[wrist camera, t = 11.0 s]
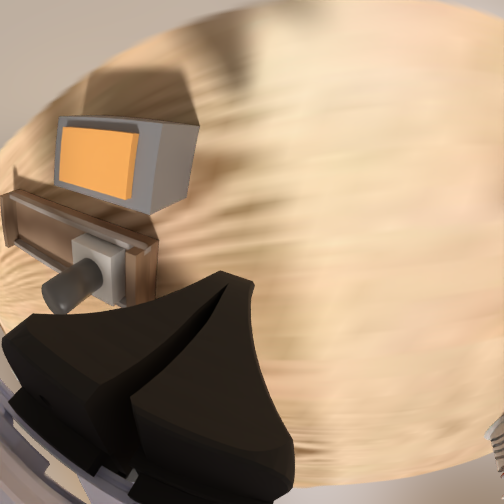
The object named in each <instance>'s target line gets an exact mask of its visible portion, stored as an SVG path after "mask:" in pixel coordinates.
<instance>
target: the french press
mask: <svg viewBox="0 0 504 504" xmlns="http://www.w3.org/2000/svg"><path fill="white" fill-rule="evenodd" d="M484 438H485V439H487V440H491V442H492V443H491V444H492V447H493V452H494V453H495V454H494V456H495V459H496V465H497V470H498V472H502V471H504V415H503V416H502V417H500V418H499V419H498V420H497V421H496V422H495V423H494V424H492V425H491V426H490V428H489V429H488V430H487V431H486V432H485V435H484ZM501 478H504V473H503V474H502V475H501ZM501 499H504V495H503V496H502V498H501Z"/></svg>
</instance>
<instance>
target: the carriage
mask: <svg viewBox="0 0 504 504" xmlns="http://www.w3.org/2000/svg"><path fill="white" fill-rule="evenodd" d="M72 254H73V264H74V265H72V266H70V267H69V268H67V269H66V270H64V271H63V272H61V273H59V274H58V275H56V276H55V277H53V278H52V279H50V280H49V281H47V282H46V283H44V284H43V285H42V295H43V298H44V300H45V302H46V304H47V306H48V307H49V309H50V310H51V311H52V312H53V313H54V314H62V315H66V314H67V313H69V312H70V311H71V310H72V309H74V308H75V307H76V306H77V305H79V304H80V303H81V302H82V301H84V300H85V299H86V298H87V297H89V296H90V295H93V296H94V297H96V298H98V299H100V300H102V301H104V302H106V303H108V304H109V305H111V306H114V305H115V304H116V303H118V302H119V301H120V300H121V299H122V298H123V297H124V296H125V248H122V247H120V246H117V245H115V244H113V243H110V242H108V241H105V240H103V239H100V238H98V237H95V236H93V235H91V234H88V233H84V234H82V235H80V236H78V237H76V238H74V239H72Z"/></svg>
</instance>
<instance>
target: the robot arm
mask: <svg viewBox="0 0 504 504" xmlns="http://www.w3.org/2000/svg"><path fill="white" fill-rule="evenodd" d="M254 286H255V285H254V283H253V281H250V280H247V279H244V278H241V277H238V276H235V275H232V274H229V273H226V272H223V271H218V272H216V273H214V274H212V275H210V276H208V277H206V278H204V279H202V280H200V281H198V282H196V283H194V284H192V285H189V286H187V287H185V288H183V289H181V290H178V291H176V292H173V293H171V294H168V295H166V296H163V297H161V298H158V299H155V300H152V301H148V302H145V303H141V304H138V305H134V306H130V307H125V308H120V309H114V310H109V311H103V312H95V313H85V314H66V315H62V314H34V313H33V314H32V315H30V316H29V317H28V318H26V319H25V320H24V321H23V322H21V323H20V324H19V325H18V326H16V327H15V328H14V329H13V330H11V331H10V332H9V333H8V334H6V335H5V336H4V337H3V338H2V348H3V352H4V354H5V356H6V358H7V360H8V362H9V364H10V366H11V368H12V370H13V372H14V374H15V375H16V377H17V379H18V381H19V382H20V384H21V386H22V388H20V390H18V392H16V394H14V393H13V392H12V391H11V390H10V389H9V388H8V387H7V386H6V385H5V384H4V382H3V381H2V380H1V379H0V504H86V503H84V502H83V501H81V500H80V499H78V498H77V497H75V496H74V495H73V494H71V493H70V492H68V491H67V490H66V489H64V488H63V487H62V486H60V485H59V484H58V483H57V482H55V481H54V480H53V479H51V478H50V477H49V476H48V475H46V474H45V470H46V469H47V468H48V466H49V465H50V464H49V461H47V460H46V459H45V458H44V457H43V456H42V455H41V454H39V452H38V451H37V450H36V449H35V448H33V447H32V446H31V445H30V444H29V442H28V441H27V440H26V439H25V438H24V437H23V436H22V435H21V434H20V433H19V432H18V431H17V430H16V429H15V428H14V427H13V419H14V420H15V421H16V422H17V423H18V424H19V425H20V426H21V427H22V428H23V429H24V430H25V431H26V432H27V433H28V434H29V435H30V436H31V437H32V438H33V439H34V440H35V441H36V442H38V443H39V444H40V445H41V446H42V447H43V448H44V449H46V450H47V451H48V452H49V453H50V454H51V455H53V456H54V457H55V458H56V459H58V460H59V461H60V462H62V463H63V464H64V465H65V466H67V467H68V468H69V469H71V470H72V471H73V472H75V473H76V474H77V476H78V478H79V480H80V482H81V484H82V486H83V488H84V490H85V492H86V494H87V496H88V498H89V500H90V502H91V504H273V502H274V500H276V499H278V498H279V497H281V496H283V495H285V494H286V493H288V492H289V491H290V490H291V489H292V488H293V483H294V476H295V454H294V444H293V439H292V437H291V436H290V434H289V432H288V431H287V429H286V427H285V425H284V423H283V422H282V420H281V418H280V416H279V414H278V412H277V410H276V408H275V406H274V403H273V401H272V399H271V397H270V394H269V392H268V389H267V386H266V384H265V381H264V378H263V376H262V373H261V370H260V366H259V363H258V359H257V355H256V351H255V346H254V341H253V334H252V326H251V297H252V293H253V290H254Z"/></svg>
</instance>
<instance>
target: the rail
mask: <svg viewBox="0 0 504 504" xmlns="http://www.w3.org/2000/svg"><path fill="white" fill-rule="evenodd" d="M0 206H1V216H2V225H3V233H4V239H5V246H7V247H8V248H9V247H11V246H13V245H16V246H17V247H19V248H20V249H22V250H23V251H25V252H26V253H28V254H29V255H31V256H32V257H34V258H35V259H37V260H38V261H40V262H42V263H43V264H45V265H46V266H48V267H50V268H51V269H53V270H54V271H56V272H58V273H61V272H63V271H64V270H66V269H67V268H69V267H70V266H72V265H74V264H73V254H72V239H74V238H76V237H78V236H80V235H82V234H84V233H88V234H91V235H93V236H95V237H98V238H100V239H103V240H105V241H108V242H110V243H113V244H115V245H117V246H120V247H122V248H125V296H124V297H123V298H122V299H121V300H120V301H119V302H118V303H116V305H118V306H120V307H122V308H125V307H130V306H134V305H138V304H141V303H145V302H148V301H152V300H155V290H156V272H157V257H158V244H159V240H156V239H153V238H151V237H148V236H145V235H142V234H139V233H136V232H134V231H131V230H128V229H125V228H122V227H120V226H117V225H114V224H111V223H109V222H106V221H103V220H100V219H98V218H95V217H92V216H89V215H87V214H84V213H81V212H78V211H76V210H73V209H70V208H68V207H65V206H62V205H60V204H57V203H54V202H52V201H49V200H46V199H44V198H41V197H39V196H36V195H33V194H31V193H28V192H26V191H23V190H20V189H18V190H15V191H12V192H9V193H6V194H3V195H0Z"/></svg>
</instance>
